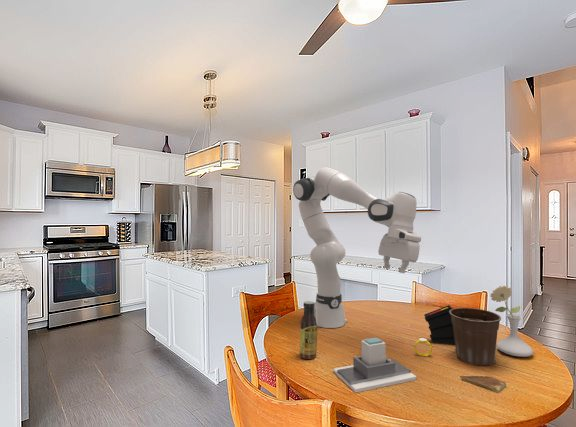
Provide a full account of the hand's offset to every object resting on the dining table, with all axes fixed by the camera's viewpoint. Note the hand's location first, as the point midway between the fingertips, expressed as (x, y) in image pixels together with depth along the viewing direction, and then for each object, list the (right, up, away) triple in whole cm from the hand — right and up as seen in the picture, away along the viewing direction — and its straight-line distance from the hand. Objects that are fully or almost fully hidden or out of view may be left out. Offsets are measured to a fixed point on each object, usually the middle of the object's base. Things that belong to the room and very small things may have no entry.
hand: (393, 270), depth 124 cm
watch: (+10, -31, -3) cm, 33 cm away
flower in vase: (+43, -31, -2) cm, 53 cm away
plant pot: (+27, -31, -7) cm, 41 cm away
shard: (+20, -31, -25) cm, 45 cm away
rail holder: (-12, -31, -18) cm, 38 cm away
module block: (-12, -29, -18) cm, 36 cm away
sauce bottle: (-33, -31, -3) cm, 45 cm away
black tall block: (+23, -31, +9) cm, 39 cm away
